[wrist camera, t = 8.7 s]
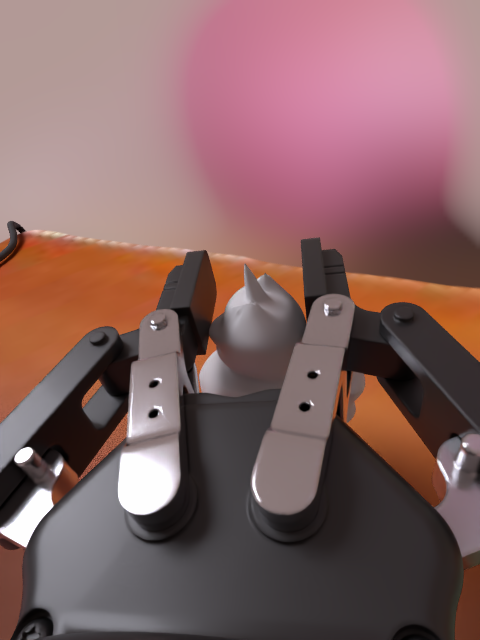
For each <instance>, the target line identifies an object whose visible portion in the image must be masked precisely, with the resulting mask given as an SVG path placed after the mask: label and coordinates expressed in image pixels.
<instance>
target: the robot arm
mask: <svg viewBox="0 0 480 640" xmlns="http://www.w3.org/2000/svg"><path fill="white" fill-rule="evenodd" d="M7 226H8V230H9V233H10V242H9V244H8V246H7V247H6V248H5V249H4V250H3V251H2V252H1V253H0V262H1V261H2V260H3V259H5V258H6V257H7V256H8V255H9V254H10V253H11V252H12V251H13V250H14V249H15V247H16V245H17V232H16V230H17V231H19V232H20V233H23V232H26V230H25V229H24V228H23V227H22V226H21V225H19V224H18V223H16V222H14V221H10V222H8V224H7ZM301 251H302V263H303V264H302V266H303V281H304V296H305V307H306V318H307V324H306V328H305V331H304V335H303V338H302V342H301V343H299V342H297V343H296V344H295V346H294V349H293V353H292V356H291V359H290V363H289V366H288V369H287V372H286V376H285V379H284V382H283V386H282V389H267V390H263V391H259V392H256V393H252V394H248V395H244V396H240V397H229V396H223V395H217V394H212V393H199V385H198V376H197V368H196V365H195V358H196V355H206V349H207V344H208V339H209V329H210V326H211V323H212V317H213V312H214V307H215V302H216V295H217V291H216V283H215V279H214V275H213V271H212V267H211V264H210V260H209V256H208V253H207V251H206V250H203V251H194V252H187V254H186V257H185V261H184V264H183V265H180V266H176V267H175V268H174V269H173V270H172V271H171V272H170V273H169V274H168V277H167V280H166V284H165V286H164V289H163V290H164V291H162V294H161V297H160V300H159V303H158V306H157V309H156V311H153V312H151V313H149V314H148V315H147V316H145V317H144V318H143V319H142V321H141V323H140V328H139V329H137V330H134V331H131V332H128V333H125V334H122V335H119V334H118V332H117V330H116V329H115V328H113V327H109V326H105V327H100V328H97V329H94V330H92V331H90V332H89V333H88V334H86V335H85V336H84V337H83V338H82V339H81V340H80V341H79V342H78V343H77V344H76V345H75V346H74V347H73V349H72V350H71V351H70V352H69V353H68V354H67V355H66V356H65V357H64V358H63V359H62V360H61V361H60V362H59V363H58V364H57V365H56V366H55V367H54V368H53V369H52V370H51V371H50V372H49V373H48V374H47V376H46V377H45V378H44V379H43V380H42V381H41V382H40V383H39V384H38V385H37V386H36V387H35V388H34V389H33V390H32V391H31V392H30V393H29V394H28V395H27V396H26V397H25V398H24V399H23V400H22V402H21V403H20V404H19V405H18V406H17V407H16V408H15V409H14V410H13V411H12V412H11V413H10V414H9V415H8V416H7V417H6V418H5V419H4V420H3V421H2V422H1V423H0V545H1V546H2V547H4V548H6V549H9V550H14V549H18V548H22V549H23V550H25V552H24V556H23V564H22V576H23V596H22V604H21V610H20V615H19V620H18V623H17V626H16V629H15V631H14V634H13V636H12V638H11V639H10V640H455V617H456V610H457V605H458V601H459V598H460V594H461V590H462V586H463V576H464V570H466V569H469V568H471V567H473V566H476V565H478V564H480V362H479V361H478V360H476V359H475V358H474V357H473V356H472V355H471V354H470V353H469V352H468V351H467V350H466V349H465V348H464V347H463V346H462V345H461V344H460V343H459V342H458V341H456V340H455V339H454V338H453V337H452V336H451V335H450V334H449V333H448V332H447V331H446V330H445V329H444V328H443V327H442V326H441V325H440V324H439V323H438V322H436V321H435V320H434V319H433V318H432V317H431V316H430V315H429V314H428V313H427V312H426V311H425V310H424V309H422V308H421V307H419V306H417V305H415V304H412V303H405V302H399V303H393V304H390V305H388V306H386V307H385V308H384V309H383V310H382V311H381V313H378V312H371V311H367V310H363V309H361V308H359V307H357V306H356V305H355V304H354V302H353V301H352V300H351V298H350V293H349V288H348V283H347V278H346V273H345V268H344V263H343V258H342V255H341V254H340V253H339V252H337V251H336V250H335V249H330V250H321V243H320V238H311V239H303V240H301ZM353 372H358V373H363V374H368V375H373V376H377V379H378V381H379V383H380V384H381V385H382V387H383V388H384V390H385V391H386V392H387V394H388V395H389V396H390V398H391V399H392V400H393V402H394V403H395V404H396V406H397V407H398V409H399V410H400V411H401V413H402V414H403V415H404V417H405V418H406V419H407V421H408V422H409V423H410V425H411V426H412V427H413V429H414V430H415V432H416V433H417V434H418V436H419V437H420V438H421V440H422V441H423V442H424V444H425V445H426V446H427V448H428V449H429V451H430V452H431V453H432V455H433V456H434V457H435V459H436V461H435V465H434V468H433V472H432V484H433V487H434V489H435V491H436V493H437V495H438V497H439V500H440V504H438V505H437V506H436V507H433V506H432V505H431V504H430V503H428V502H427V501H426V500H425V499H424V498H423V497H422V496H421V495H420V494H419V493H418V492H417V491H416V490H415V489H414V488H413V487H412V486H411V485H410V484H409V483H408V482H407V481H406V480H404V479H403V478H402V477H401V476H400V475H399V474H398V473H397V472H396V471H395V470H394V469H393V468H392V467H391V466H390V465H389V464H388V463H387V462H386V461H385V460H384V459H383V458H382V457H380V456H379V455H378V454H377V453H376V452H375V451H374V450H373V449H372V448H371V447H370V446H369V445H368V444H367V443H366V442H365V441H364V440H363V439H362V438H361V437H360V436H359V435H358V434H357V433H355V432H354V431H353V430H352V429H351V428H350V427H349V426H348V425H347V411H348V402H349V396H350V390H351V383H352V377H353ZM98 379H99V380H100V382H101V384H102V386H101V387H100V388H99V389H98V391H97V392H96V393H95V394H94V395H93V397H92V398H91V399H90V400H89V401H88V403H87V404H86V405H85V406H84V407H83V409H82V399H83V397H84V395H85V394H86V393H87V391H88V390H89V389H90V388H91V387H92V386H93V384H94V383H95V382H96V381H97V380H98ZM127 412H128V423H127V437H126V438H125V439H124V440H123V441H122V442H121V443H120V444H119V445H118V446H117V447H116V448H115V449H114V450H112V451H111V452H110V453H109V454H108V455H107V456H106V457H105V458H104V459H103V460H102V461H101V462H100V463H99V464H98V465H96V466H95V467H94V468H93V469H92V470H91V471H90V472H89V473H88V474H87V475H86V476H85V477H84V478H83V479H82V480H80V481H79V482H78V478H79V477H80V476H81V474H82V473H83V472H84V470H85V469H86V468H87V466H88V465H89V464H90V462H91V461H92V459H93V458H94V457H95V455H96V454H97V453H98V451H99V450H100V449H101V447H102V446H103V444H104V443H105V442H106V440H107V439H108V438H109V436H110V435H111V434H112V432H113V431H114V430H115V428H116V427H117V425H118V424H119V423H120V421H121V420H122V419H123V417H124V416H125V415H126V413H127Z"/></svg>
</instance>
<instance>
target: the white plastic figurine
mask: <svg viewBox="0 0 480 640" xmlns="http://www.w3.org/2000/svg"><path fill="white" fill-rule="evenodd" d="M244 281H245V287H243V288H241V289H239V290H238V291H237V292H236V293H235V294H234V295H233V296H232V297H231V299H230V300H229V302H228V304H227V306H226V308H225V312H224V313H223V314H222V315H220V316H219V317H217V318H216V319H215V320H214V321H213V322H212V324H211V326H210V329H209V336H210V338H211V339H212V340H213V342H214V343H215V344H216V345H217V346H216V347H217V350H216V351H215V352H214V353H213V354H212V355H211V356H210V357H209V358H208V359H207V361H206V362H205V364H204V365H203V367H202V369H201V371H200V375H199V381H200V386H201V390H202V393H212V394H217V395H223V396H229V397H240V396H244V395H248V394H252V393H256V392H259V391H263V390H267V389H282V386H283V382H284V379H285V376H286V372H287V369H288V366H289V363H290V359H291V356H292V353H293V349H294V346H295V344H296V343H297V342H299V343H301V342H302V338H303V335H304V331H305V328H306V320H305V317H304V314H303V312H302V310H301V308H300V306H299V305H298V304H297V302H296V301H295V300H294V298H293V297H292V296H291V295H290V294H289V293H287V292H286V291H285V290H284V289H283V288H282V287H281V286H280V285H279V284H277V283H276V282H275V281H274V280H273V279H272V278H271V277H270V276H268V275H267V274H266V273H265V274H264V275H263V276H260V277H259V278H258V279H256V278H255V276H254V275H253V273H252V272H251V270H250V269H249V268H248V267H247V265H246V264H245V265H244ZM364 387H365V377H364V374H363V373H358V372H353V377H352V383H351V390H350V396H349V402H348V411H347V422H349V421H350V420H351V419H352V418H353V416H354V414H355V411H356V408H355V403H354V401H355V400H356V399H357V398H358V397H359V396H360V395H361V393H362V392H363V390H364Z"/></svg>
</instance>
